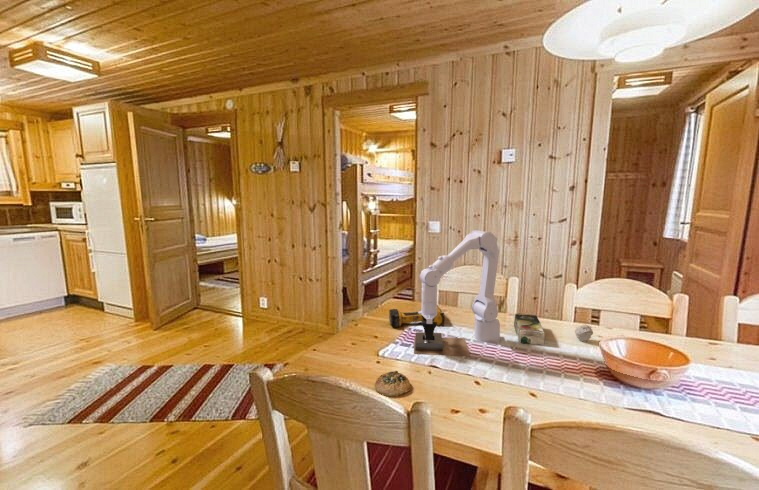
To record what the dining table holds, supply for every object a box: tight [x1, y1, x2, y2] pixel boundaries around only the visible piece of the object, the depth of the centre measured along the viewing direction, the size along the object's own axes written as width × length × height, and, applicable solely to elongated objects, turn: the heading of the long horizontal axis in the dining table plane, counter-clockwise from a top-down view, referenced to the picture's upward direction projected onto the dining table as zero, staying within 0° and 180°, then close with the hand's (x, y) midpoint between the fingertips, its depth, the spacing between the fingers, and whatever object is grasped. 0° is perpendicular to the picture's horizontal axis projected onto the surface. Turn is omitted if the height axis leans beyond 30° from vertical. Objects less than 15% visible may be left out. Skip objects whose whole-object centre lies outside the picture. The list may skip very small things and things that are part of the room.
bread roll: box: [374, 370, 412, 397], centre depth 107 cm, size 11×11×5 cm
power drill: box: [388, 304, 446, 328], centre depth 166 cm, size 7×24×25 cm
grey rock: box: [574, 324, 594, 342], centre depth 140 cm, size 6×7×7 cm
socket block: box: [414, 331, 443, 352], centre depth 135 cm, size 10×10×3 cm
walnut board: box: [413, 335, 471, 357], centre depth 134 cm, size 20×16×1 cm
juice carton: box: [513, 313, 545, 346], centre depth 146 cm, size 20×10×6 cm, turn 165°
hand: (428, 335), depth 134 cm, fingers open, 7 cm apart
